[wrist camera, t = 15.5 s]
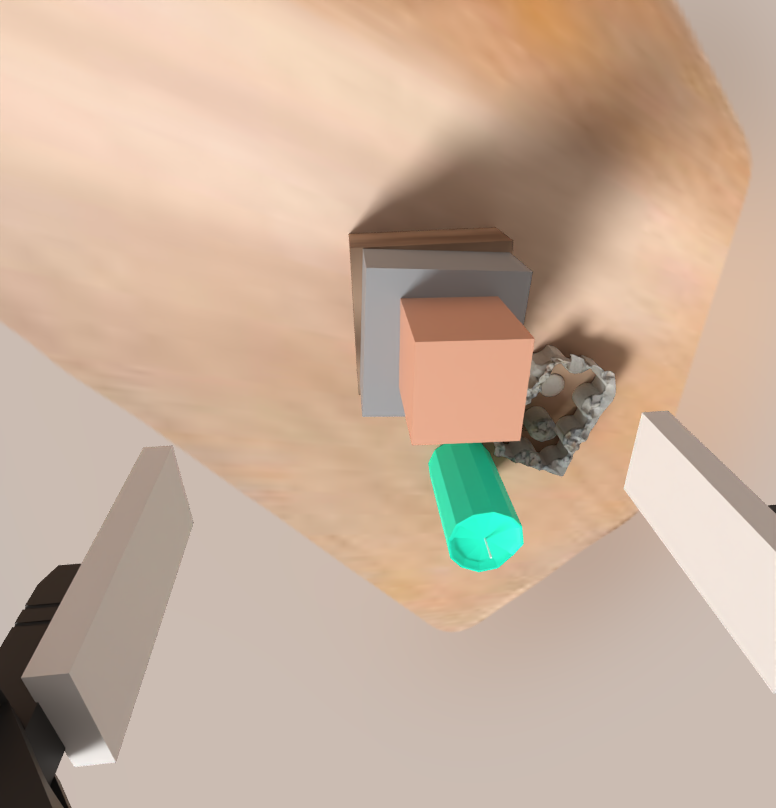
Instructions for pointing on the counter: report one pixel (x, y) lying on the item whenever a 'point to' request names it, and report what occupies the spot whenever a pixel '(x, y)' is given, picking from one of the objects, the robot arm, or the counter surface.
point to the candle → (474, 507)
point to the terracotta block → (463, 370)
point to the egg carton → (568, 428)
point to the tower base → (416, 240)
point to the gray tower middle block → (422, 278)
